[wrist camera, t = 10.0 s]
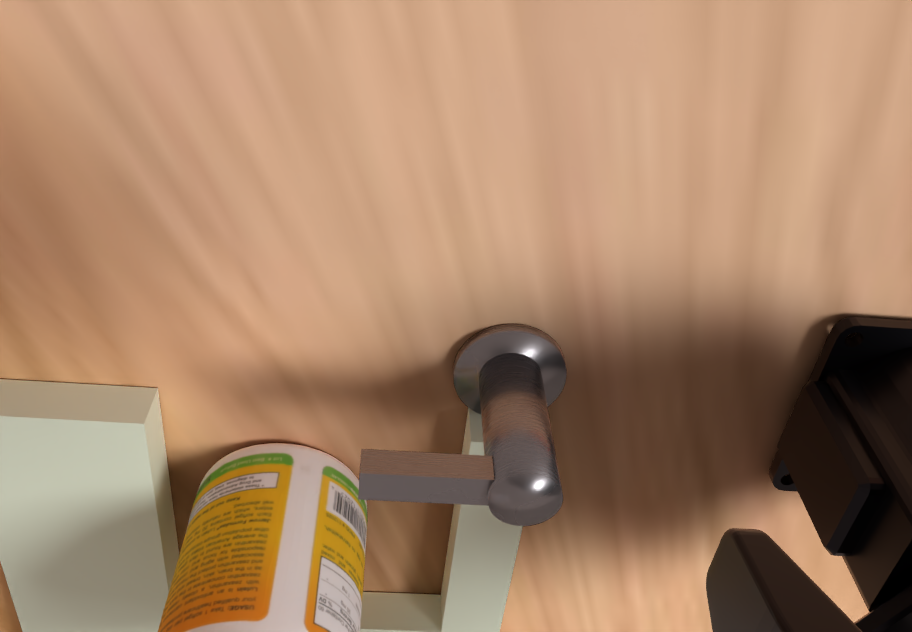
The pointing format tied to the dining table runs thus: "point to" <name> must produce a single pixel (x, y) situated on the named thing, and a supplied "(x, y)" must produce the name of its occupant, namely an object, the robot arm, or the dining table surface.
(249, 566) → the supplement bottle
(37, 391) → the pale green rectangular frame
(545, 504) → the door lever handle
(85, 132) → the dining table surface
